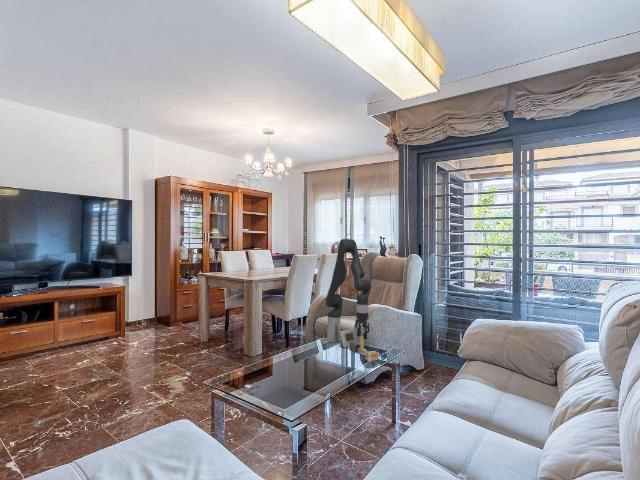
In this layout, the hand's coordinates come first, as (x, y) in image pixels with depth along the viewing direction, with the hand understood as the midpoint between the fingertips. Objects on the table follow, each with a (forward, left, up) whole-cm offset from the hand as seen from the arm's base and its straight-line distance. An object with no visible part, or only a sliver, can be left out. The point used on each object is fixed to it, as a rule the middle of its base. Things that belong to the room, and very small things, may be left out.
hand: (361, 337), depth 225 cm
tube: (-5, 0, -10) cm, 11 cm away
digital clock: (-20, +1, -10) cm, 22 cm away
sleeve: (-7, 0, -10) cm, 12 cm away
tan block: (+13, 0, -10) cm, 17 cm away
